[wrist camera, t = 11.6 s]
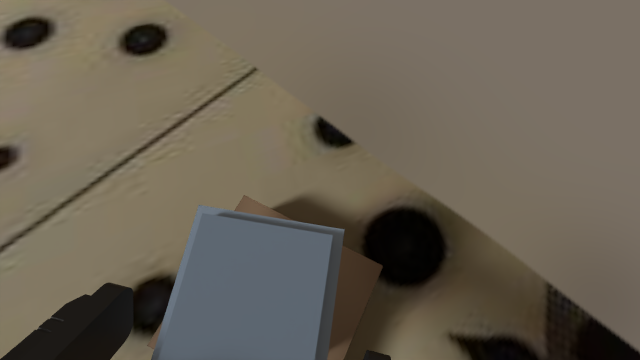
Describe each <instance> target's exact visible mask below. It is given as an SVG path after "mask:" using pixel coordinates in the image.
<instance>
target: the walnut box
mask: <svg viewBox="0 0 640 360" xmlns="http://www.w3.org/2000/svg"><path fill="white" fill-rule="evenodd" d="M234 211H238V212H243V213H249V214H255V215H261V216H267V217H273V218H279V219H285V220H291V221H294V220H292V219H290V218H288V217H286V216H284V215H282V214H280V213H278V212H276V211H274V210H273V209H271V208H269V207H267V206H265V205H263V204H261V203H259V202H257V201H255V200H253V199H251V198H249V197H247V196H245V195H244V196H243V198H242V200H241V201H240V203H239V204H238V206H237V207H236V209H235V210H234ZM382 267H383V266H382V265H380V264H378V263H376V262H374V261H372V260H370V259H368V258H366V257H364V256H362V255H361V254H359V253H357V252H355V251H353V250H351V249H349V248H347V247H345V246H343V245H342V252H341V260H340V267H339V275H338V282H337V290H336V298H335V305H334V313H333V320H332V328H331V335H330V343H329V350H328V358H327V360H344V358H345V355H346V353H347V350H348V348H349V346H350V343H351V341H352V339H353V336H354V334H355V331H356V329H357V327H358V324H359V322H360V320H361V317H362V315H363V312H364V310H365V308H366V305H367V303H368V301H369V298H370V296H371V293H372V291H373V289H374V286H375V284H376V282H377V279H378V277H379V275H380V272H381V270H382ZM162 323H163V322H162ZM162 323H161V325H160V326H159V328H158V330H157V331H156V333H155V334H154V336H153V337H152V339H151V340H150V342H149V343H148V345H147V346H149V347H151V348H152V349H155V346H156V343H157V339H158V336H159V333H160V330H161V326H162Z"/></svg>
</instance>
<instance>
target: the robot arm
mask: <svg viewBox="0 0 640 360" xmlns="http://www.w3.org/2000/svg"><path fill="white" fill-rule="evenodd" d="M132 326H133V290H132V289H131V288H129V287H125V286H121V285H117V284H113V283H106V284H104V285H103V286H102V287H100V288H99V289H98V290H97V291H96V292H95V293H94V294H93V295H91V296H90V295H86V294H85V295H83V296H81V297H79V298H77V299H75V300H73V301H71V302H69V303H67V304H65V305H64V306H63V307H62V308H61V309H59V310H58V311H57V312H56V313H55V314H54V315H52V316H51V318H50V319H48V320H46V321H45V322H44V323H43V324H42V325H40V326H39V328H38V329H37V330H35V331H33V332H32V333H31V334H30V335H29V336H27V337H26V338H25V339H24V340H23V341H21V342H20V343H19V344H18V345H17V346H16V347H14V348H13V349H12V350H11V351H10V352H8V353H7V354H6V355H5V356H4V357H2V358H1V359H0V360H110V359H111V358H112V357H113V355H114V354H115V353H116V352H117V351H118V349H119V348H120V347H121V346H122V344H123V343H124V342H125V341H126V339H127V338H128V336H129V334H130V332H131V329H132ZM363 360H391V357H390V356H389V355H385V354H381V353H377V352H373V351H369V350H367V351H366V353H365V356H364V359H363Z"/></svg>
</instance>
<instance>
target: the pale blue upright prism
mask: <svg viewBox="0 0 640 360" xmlns="http://www.w3.org/2000/svg"><path fill="white" fill-rule="evenodd" d="M344 230H345V229H339V228H333V227H327V226H321V225H315V224H309V223H303V222H297V221H291V220H285V219H279V218H273V217H267V216H261V215H255V214H249V213H243V212H238V211H232V210H226V209H220V208H214V207H208V206H202V205H199V206H198V209H197V213H196V216H195V219H194V222H193V226H192V229H191V232H190V235H189V239H188V242H187V245H186V248H185V252H184V255H183V258H182V261H181V265H180V268H179V271H178V274H177V278H176V281H175V284H174V287H173V291H172V294H171V297H170V300H169V304H168V307H167V310H166V313H165V317H164V320H163V323H162V326H161V330H160V333H159V336H158V339H157V343H156V346H155V349H154V352H153V356H152V359H151V360H327V358H328V350H329V343H330V335H331V328H332V320H333V313H334V305H335V298H336V290H337V282H338V275H339V267H340V260H341V252H342V245H343V237H344Z"/></svg>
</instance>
